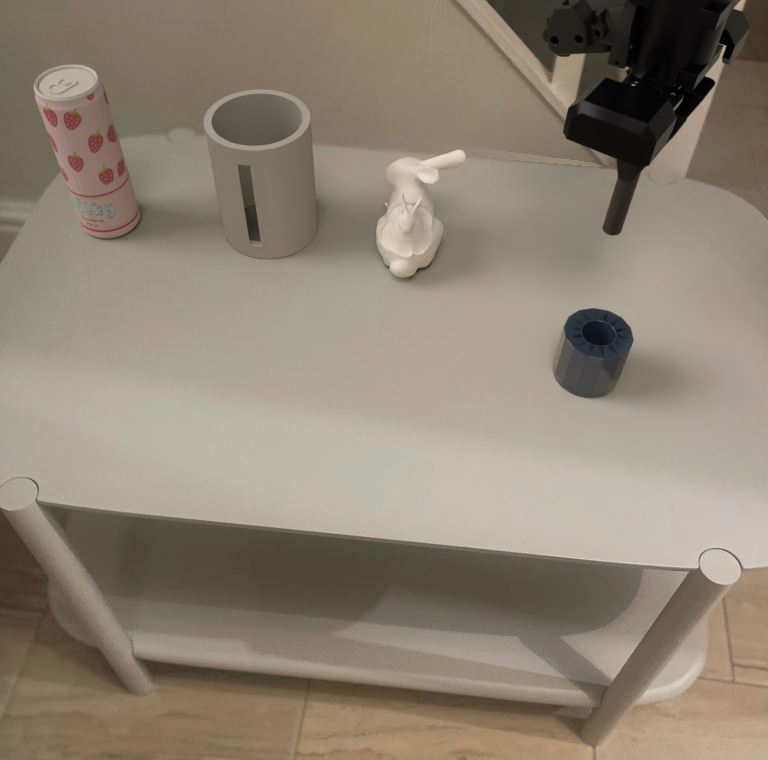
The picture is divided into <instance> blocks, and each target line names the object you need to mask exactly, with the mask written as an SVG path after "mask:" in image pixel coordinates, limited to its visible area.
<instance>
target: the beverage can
mask: <svg viewBox="0 0 768 760" xmlns="http://www.w3.org/2000/svg"><path fill="white" fill-rule="evenodd" d="M33 91H34V99H35V102H36V104H37V107H38V110H39V113H40V115H41V118H42V121H43V124H44V127H45V129H46V132H47V135H48V137H49V141H50V144H51V146H52V150H53V152H54V155H55V158H56V160H57V162H58V166H59V169H60V171H61V174H62V177H63V179H64V182H65V186H66V188H67V191H68V194H69V196H70V199H71V202H72V204H73V207H74V210H75V213H76V215H77V218H78V221H79V224H80V226H81V229H82V230H83V231H84V233H87V234H88V235H90V236H93V237H95V238H99V239H115V238H119V237H122V236H124V235H126V234H128V233H129V232H131V231H133V230H134V228H135V227H136V226H137V225H138V223H139V222H140V220H141V210H140V206H139V202H138V200H137V197H136V193H135V190H134V186H133V182H132V179H131V176H130V173H129V169H128V166H127V161H126V158H125V156H124V152H123V147H122V145H121V141H120V139H119V134H118V131H117V128H116V124H115V120H114V116H113V114H112V111H111V106H110V103H109V100H108V96H107V92H106V89H105V86H104V84H103V81H101V79H100V76H99V74H98V73H97V72H96V71H95V70H94V69H92V68H91V67H88V66H86V65H82V64H72V63H71V64H62V65H57V66H54V67H51V68H49V69H47V70H45V71H43V72H41V73H40V74H39V75H38V76H37V77H36V78H35V81H34V83H33Z"/></svg>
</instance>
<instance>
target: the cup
mask: <svg viewBox="0 0 768 760" xmlns="http://www.w3.org/2000/svg"><path fill="white" fill-rule="evenodd" d="M311 120H312V119H311V112H310V110H309V108H308V106H307V105H306V104H305V103H304V102H303V101H302V100H301V99H299V98H298V97H296V96H294V95H292V94H290V93H287V92H283V91H280V90H274V89H261V88H259V89H247V90H243V91H239V92H234V93H232V94H231V93H230V94H228V95H227V96H224V97H222V98H220V99H219V100H217V101H216V102H214V103H213V104H212V105H211V106H210V107H209V108H208V110H207V111H206V112H205V115H204V117H203V129H204V133H205V140H206V144H207V145H206V146H207V150H208V155H209V160H210V165H211V171H212V176H213V183H214V187H215V191H216V198H217V204H218V208H219V214H220V219H221V224H222V229H223V230H222V231H223V234H224V238H225V240H226V242H227V244H228V245H229V246H230V247H231V248H232V249H233V250H235V251H236V252H238V253H240V254H242V255H243V256H248V257H250V258H255V259H261V260H265V259H266V260H268V259H270V260H271V259H280V258H285V257H288V256H291V255H294V254H297V253H298V252H300V251H302V250H303V249H305V248H306V247H308V245H310V244H311V243H312V241H313V240H314V239H315V238H316V235H317V232H318V226H319V224H318V222H319V221H318V211H317V210H318V209H317V194H316V193H317V191H316V180H315V179H316V178H315V163H314V149H313V135H312V134H313V132H312V121H311ZM251 206H255V213H256V218H257V226H258V227H257V228H258V232H259V233H258V234H259V239H260V241H258V240H253V239H250V237H249V236H250V235H249V230H248V223H247V217H246V211H245V210H246V209H247V208H250V207H251Z"/></svg>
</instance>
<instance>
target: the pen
mask: <svg viewBox="0 0 768 760" xmlns="http://www.w3.org/2000/svg"><path fill="white" fill-rule="evenodd" d="M641 175H642V171H641V172H640V174H639V175H638V176H637V177H636V178H635V179H634V180H633V181H632V182H631V183H627V182H624V181H622V180H620V179H618V177H617V178H616V181H615V185H614V188H613V191H612V194H611V198H610V200H609V204H608V207H607V210H606V213H605V216H604V220H603V223H602V226H601V229H602V231H603V232H604V233H605V234H606V235H608V236H612V237H615V236H619V235H620V234H621V233H622V231H623V227H624V225H625V221H626V218H627V215H628V212H629V209H630V208H631V203H632V200H633V198H634V195H635V191H636V188H637V186H638V183H639V181H640V176H641Z"/></svg>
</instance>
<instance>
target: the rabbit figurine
mask: <svg viewBox="0 0 768 760" xmlns="http://www.w3.org/2000/svg"><path fill="white" fill-rule="evenodd" d="M466 161H467V155H466V153H465V151H464V150H462V149H454V150H452V151H450V152H445V153H443V154H440V155H437V156H434V157H431V158H428V159H425V160H422V159H419V158H416V157H411V156H405V157H402V158H399V159H397V160H395V161H393V162H392V163H391V164H389V166H387V168H386V170H385V174H384V180H385V183H386V184H387V185H388V186H391V187H392V189H393V191H392V193H391V194H390V197H389V199H388V202H386V201H384V206H385V208H386V211H385V214H384V215H382V216H380V218H379V219H378V221H377V224H376V228H375V240H376V241H375V243H376V247H377V250H378V253H379V254H380V256H381V257H382V261H383V263H384V265H385V266H387V267H389V271H390V273H391V274H392V275H393V276H395V277H397V278H400V279H401V278H402V279H403V278H404V279H405V278H409V277H412V276H413V275H415V273H416V272H417V270H418V269H424V268H427V267H428V266H429V265H430V263H431V262H432V261H433V260H434V258H435V256H436V253H437V251H438V248H439V247H440V244H441V241H442V239H443V235H444V225H443V222H442V221H441V220H440V219H438V218H437V217H436V216H435V203H434V199H433V195H432V193H431V191H430V190H429V189H430V188H429V187H428V185H435V184H436V183H437V182H439V181H440V178H441V173H440V172H441V171H447V170H452V169H458V168H460V167H462V166H464V165H465V163H466Z"/></svg>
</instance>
